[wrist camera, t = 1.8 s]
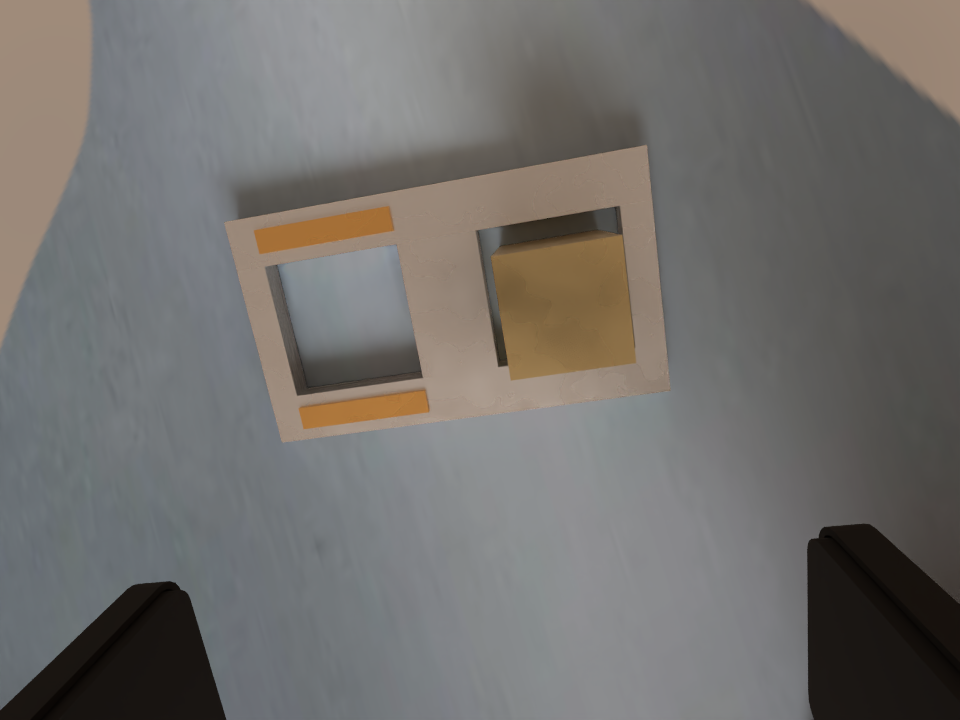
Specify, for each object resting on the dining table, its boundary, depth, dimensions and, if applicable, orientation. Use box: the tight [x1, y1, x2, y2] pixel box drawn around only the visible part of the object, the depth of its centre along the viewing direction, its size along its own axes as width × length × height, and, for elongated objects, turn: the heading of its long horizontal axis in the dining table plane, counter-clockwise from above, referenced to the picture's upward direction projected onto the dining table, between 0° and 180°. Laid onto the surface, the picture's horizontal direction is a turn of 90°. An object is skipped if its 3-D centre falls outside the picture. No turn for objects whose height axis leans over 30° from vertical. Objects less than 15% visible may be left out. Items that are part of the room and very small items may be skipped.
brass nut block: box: [491, 230, 636, 381], centre depth 26 cm, size 5×5×8 cm
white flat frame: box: [224, 145, 670, 442], centre depth 30 cm, size 21×12×2 cm, turn 99°
